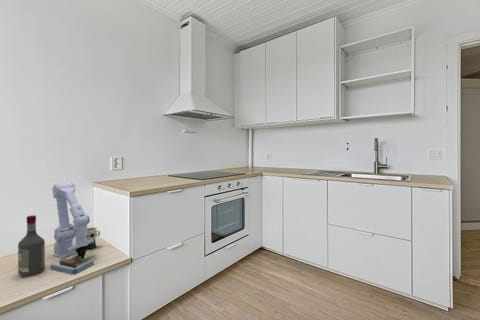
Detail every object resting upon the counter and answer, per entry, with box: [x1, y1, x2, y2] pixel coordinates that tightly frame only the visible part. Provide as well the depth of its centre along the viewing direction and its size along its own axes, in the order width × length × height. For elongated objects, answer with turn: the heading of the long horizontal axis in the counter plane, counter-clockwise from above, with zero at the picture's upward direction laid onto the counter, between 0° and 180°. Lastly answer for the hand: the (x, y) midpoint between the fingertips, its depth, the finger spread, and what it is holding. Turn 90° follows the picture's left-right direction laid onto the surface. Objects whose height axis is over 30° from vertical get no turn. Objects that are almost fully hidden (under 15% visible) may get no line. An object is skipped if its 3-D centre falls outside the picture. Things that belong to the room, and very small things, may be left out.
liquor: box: [17, 214, 46, 278], centre depth 120 cm, size 9×9×30 cm
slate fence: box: [49, 259, 95, 275], centre depth 128 cm, size 17×12×2 cm
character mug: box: [87, 226, 101, 250], centre depth 152 cm, size 11×7×13 cm, turn 113°
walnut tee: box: [58, 255, 82, 268], centre depth 130 cm, size 8×9×4 cm
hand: (81, 259), depth 135 cm, fingers closed
